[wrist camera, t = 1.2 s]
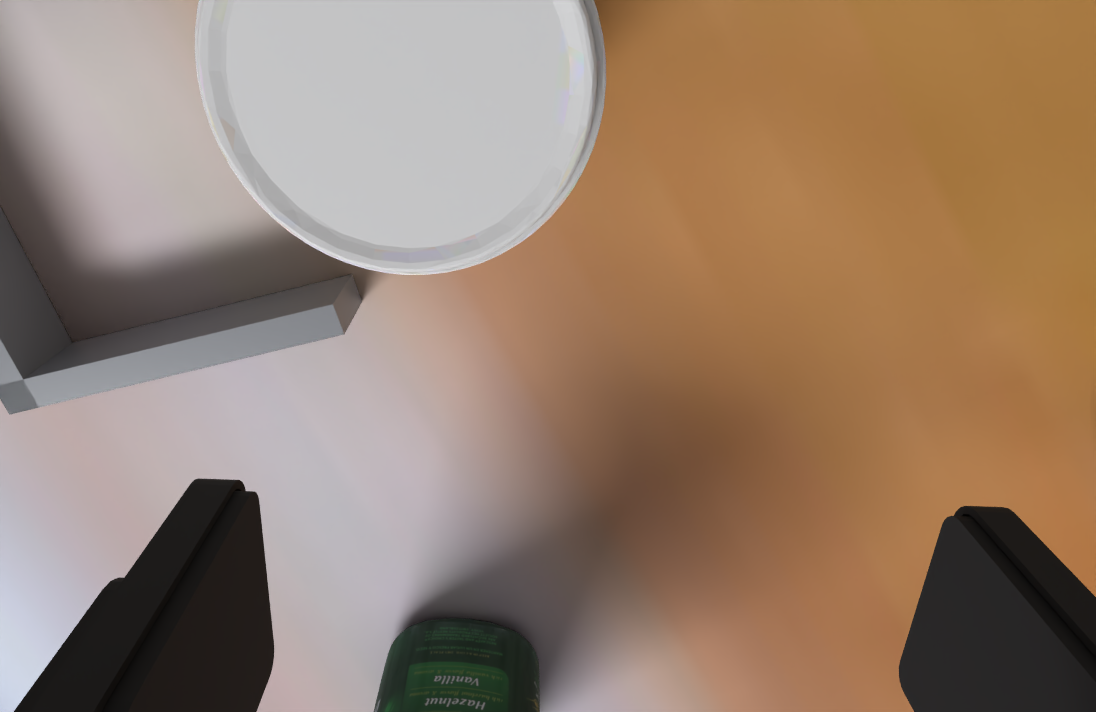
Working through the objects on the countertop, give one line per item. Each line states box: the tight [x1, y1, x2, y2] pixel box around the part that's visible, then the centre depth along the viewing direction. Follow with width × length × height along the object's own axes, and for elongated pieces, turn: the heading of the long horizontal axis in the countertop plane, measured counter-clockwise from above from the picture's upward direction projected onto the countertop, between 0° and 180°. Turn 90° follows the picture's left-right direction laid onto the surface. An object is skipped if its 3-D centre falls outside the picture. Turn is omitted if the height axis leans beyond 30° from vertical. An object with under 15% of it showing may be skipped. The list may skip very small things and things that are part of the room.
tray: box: [0, 207, 362, 415], centre depth 28 cm, size 13×16×4 cm
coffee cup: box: [195, 0, 606, 275], centre depth 23 cm, size 9×9×12 cm
